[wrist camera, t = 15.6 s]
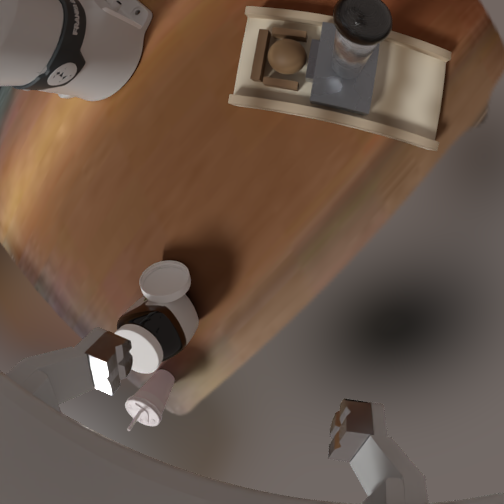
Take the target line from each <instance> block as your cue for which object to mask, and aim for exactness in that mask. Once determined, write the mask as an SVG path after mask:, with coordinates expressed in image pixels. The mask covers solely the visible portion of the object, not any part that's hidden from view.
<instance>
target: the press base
mask: <svg viewBox="0 0 504 504" xmlns="http://www.w3.org/2000/svg"><path fill="white" fill-rule="evenodd" d="M245 14H246V16H247V17H248V19H247V24H246V29H245V35H244V40H243V45H242V50H241V55H240V61H239V66H238V72H237V77H236V83H235V89H234V95H232V94H230V95H229V101H228V103H230V104H232V105H235V106H241V107H249V108H256V109H262V110H269V111H275V112H281V113H287V114H292V115H297V116H303V117H308V118H313V119H317V120H322V121H327V122H331V123H335V124H340V125H344V126H348V127H352V128H356V129H360V130H364V131H368V132H371V133H375V134H379V135H382V136H386V137H389V138H393V139H396V140H399V141H402V142H406V143H409V144H412V145H415V146H418V147H421V148H424V149H427V150H434V151H437V150H438V145H439V142H437V141H435V136H436V131H437V126H438V120H439V114H440V107H441V101H442V93H443V86H444V77H445V68H446V62H447V61H449V60H451V52H450V51H448V50H445V49H443V48H440V47H438V46H435V45H432V44H430V43H427V42H424V41H422V40H419V39H416V38H413V37H410V36H407V35H404V34H401V33H397V32H394V31H391V32H390V34H389V36H388V37H387V38H386V39H385V40H384V41H382V42H381V43H380V46H379V54H378V61H377V68H376V75H375V81H374V88H373V94H372V100H371V105H370V111H369V114H368V115H366V116H364V115H360V114H356V113H352V112H348V111H344V110H339V109H335V108H331V107H326V106H321V105H316V104H311V103H310V95H311V89H312V84H313V83H311V82H306V78H305V76H306V71H307V65H308V59H309V53H310V47H311V41H312V39H315V40H320V36H321V30H322V23H323V22H328V23H333V24H334V21H333V16H328V15H322V14H316V13H310V12H303V11H296V10H288V9H279V8H268V7H254V6H246V10H245ZM281 39H292V40H295V41H297V42H298V43H300V44H301V45H302V46H303V47H304V49H305V51H306V55H307V60H306V63H305V65H304V67H303V68H302V69H301V70H300V71H298V72H296V73H294V74H282V73H279V72H277V71H276V70H274V69H273V68H272V67H271V65H270V64H269V61H268V51H269V49H270V47H271V46H272V45H273V44H274V43H275V42H276V41H278V40H281Z"/></svg>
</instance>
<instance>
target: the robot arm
mask: <svg viewBox="0 0 504 504" xmlns="http://www.w3.org/2000/svg"><path fill="white" fill-rule="evenodd" d="M138 12H140V13H139V14H138ZM137 14H138V15H137ZM151 19H152V12H151V11H150V10H149V9H148V8H147V7H145V6H144V5H143V4H142V3H141V2H139V1H138V0H0V86H12V87H14V88H16V89H23V90H28V91H29V90H39V91H45V92H51V93H57V94H58V95H59V97H61V98H72V97H78V98H81V99H84V100H87V101H98V100H102V99H105V98H107V97H109V96H111V95H113V94H114V93H116V92H117V91H118V90H119V89H120V88H121V87H122V86H123V85H124V84H125V83H126V82H127V81H128V80H129V78H130V77H131V75H132V74H133V72H134V70H135V69H136V67H137V65H138V62H139V60H140V57H141V53H142V48H143V40H144V34H145V31H146V30H147V28H148V26H149V24H150V22H151ZM131 348H132V345H131V341H130V340H128V339H126V338H124V337H121V336H119V335H116V334H114V333H112V332H110V331H107V330H104V329H102V328H100V327H97V328H94V329H93V330H92V331H91V332H90V333H89V334H88V335H87V336H86V337H85V338H84V339H83V340H82V341H80V342H79V343H78V344H77V345H76V346H75V347H74V348H73V347H68V348H64V349H60V350H56V351H52V352H48V353H44V354H40V355H36V356H32V357H28V358H24V359H22V360H21V361H20V362H19V363H18V364H17V365H16V366H14V367H13V368H12V369H11V370H10V371H9V372H8V373H7V374H6V375H5V374H4V373H3V372H1V371H0V504H352V503H338V502H328V501H317V500H310V499H303V498H297V497H290V496H284V495H279V494H273V493H268V492H263V491H258V490H253V489H249V488H245V487H241V486H237V485H233V484H230V483H226V482H222V481H219V480H215V479H212V478H208V477H205V476H202V475H198V474H196V473H193V472H189V471H187V470H184V469H181V468H178V467H175V466H172V465H170V464H167V463H164V462H162V461H159V460H157V459H154V458H152V457H149V456H147V455H144V454H142V453H140V452H137V451H135V450H132V449H130V448H128V447H126V446H124V445H121V444H119V443H117V442H115V441H113V440H111V439H109V438H107V437H105V436H103V435H101V434H99V433H97V432H95V431H93V430H91V429H90V428H87V427H86V426H84V425H82V424H80V423H79V422H77V421H75V420H73V419H71V418H70V417H68V416H66V415H64V414H63V413H61V410H60V408H59V404H61V403H64V402H66V401H68V400H70V399H73V398H75V397H77V396H79V395H81V394H84V393H86V392H88V391H91V390H93V389H94V388H96V389H98V390H101V391H103V392H105V393H108V394H110V395H113V394H114V393H115V391H116V390H117V389H118V388H119V386H120V380H121V379H124V378H126V377H127V376H128V374H129V373H130V371H131V368H132V364H133V356H132V355H131V353H130V352H129V351H130V350H131ZM330 437H331V438H332V441H331V443H330V444H329V454H328V459H332V460H338V461H345V462H350V465H351V467H352V469H353V470H354V472H355V474H356V475H357V478H358V479H359V481H360V483H361V485H362V486H363V488H364V490H365V492H366V493H367V495H368V497H367V498H366V499H365V500H364V501H363V502H362V503H360V504H504V493H498V494H493V495H487V496H482V497H476V498H470V499H463V500H457V501H456V500H455V501H448V502H438V503H428V495H427V487H426V479H425V476H424V475H423V474H422V473H421V472H420V470H419V469H418V468H417V467H416V466H415V464H414V463H413V462H412V461H411V460H410V459H409V457H408V456H407V455H406V454H405V453H404V452H403V450H402V449H401V448H400V447H399V446H398V444H397V443H396V442H395V441H394V440H393V439H392V437H388V434H387V426H386V418H385V410H384V405H383V404H381V403H373V402H365V401H358V400H351V399H343V400H342V402H341V404H340V411H338V412H336V413H335V415H334V417H333V420H332V423H331V427H330Z"/></svg>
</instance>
